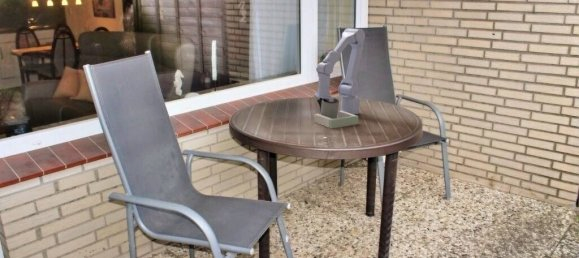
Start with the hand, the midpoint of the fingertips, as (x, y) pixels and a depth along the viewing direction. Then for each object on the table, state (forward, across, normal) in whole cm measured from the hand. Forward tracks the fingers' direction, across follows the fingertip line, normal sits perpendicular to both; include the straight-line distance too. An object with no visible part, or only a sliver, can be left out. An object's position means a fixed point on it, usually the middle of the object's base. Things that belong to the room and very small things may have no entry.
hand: (323, 113), depth 244 cm
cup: (+2, +4, 0) cm, 5 cm away
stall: (+3, +10, +1) cm, 10 cm away
